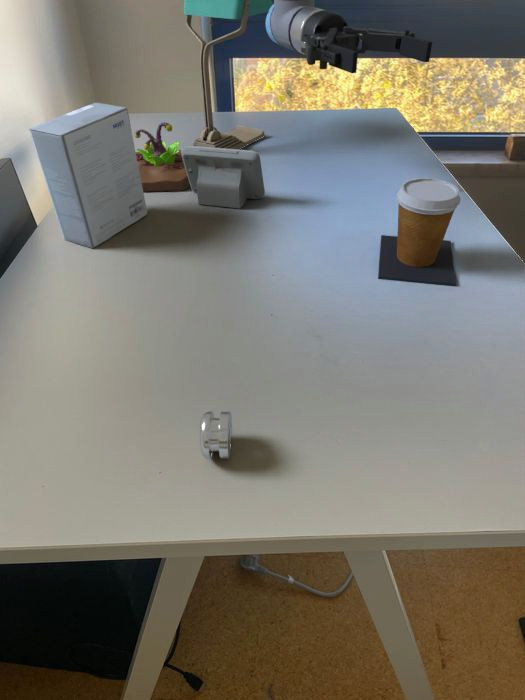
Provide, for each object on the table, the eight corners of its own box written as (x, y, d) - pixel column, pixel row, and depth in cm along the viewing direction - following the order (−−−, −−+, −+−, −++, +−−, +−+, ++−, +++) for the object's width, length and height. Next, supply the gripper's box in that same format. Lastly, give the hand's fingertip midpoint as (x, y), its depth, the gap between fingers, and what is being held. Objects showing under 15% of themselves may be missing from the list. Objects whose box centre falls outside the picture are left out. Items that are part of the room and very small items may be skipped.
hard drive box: (119, 206, 104) (97, 101, 91) (149, 215, 101) (130, 107, 88) (61, 240, 94) (27, 126, 81) (92, 250, 91) (62, 134, 78)
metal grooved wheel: (229, 468, 55) (226, 437, 52) (201, 467, 55) (197, 437, 52) (232, 432, 59) (230, 401, 56) (206, 431, 59) (202, 401, 56)
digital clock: (269, 197, 106) (268, 145, 99) (248, 215, 100) (246, 161, 93) (202, 184, 112) (197, 134, 105) (179, 200, 106) (172, 148, 99)
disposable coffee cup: (442, 245, 89) (458, 178, 81) (447, 275, 82) (465, 204, 74) (386, 241, 91) (397, 174, 83) (387, 270, 84) (398, 200, 76)
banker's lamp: (179, 151, 128) (158, -23, 105) (230, 128, 140) (221, -32, 118) (230, 164, 121) (219, -20, 98) (279, 138, 133) (279, -29, 111)
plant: (193, 195, 108) (187, 140, 100) (106, 190, 111) (94, 136, 103) (216, 160, 123) (213, 110, 115) (139, 156, 125) (130, 107, 118)
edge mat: (450, 242, 91) (450, 240, 91) (455, 286, 80) (456, 284, 80) (381, 236, 93) (381, 234, 93) (378, 278, 83) (378, 276, 82)
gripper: (375, 50, 99) (451, 74, 84) (257, 66, 90) (320, 96, 76) (380, 4, 94) (462, 20, 79) (256, 16, 86) (323, 37, 71)
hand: (393, 57), depth 77 cm, fingers open, 13 cm apart
